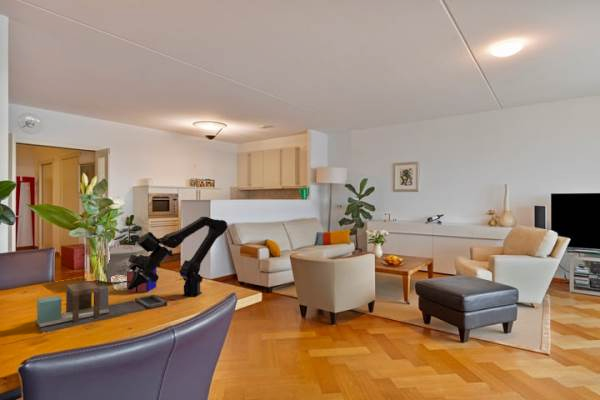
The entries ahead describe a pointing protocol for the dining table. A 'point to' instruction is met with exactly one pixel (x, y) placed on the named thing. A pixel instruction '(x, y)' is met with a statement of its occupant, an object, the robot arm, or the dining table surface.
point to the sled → (52, 312)
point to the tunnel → (82, 298)
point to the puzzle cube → (143, 287)
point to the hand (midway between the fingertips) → (128, 289)
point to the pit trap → (151, 302)
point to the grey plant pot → (120, 259)
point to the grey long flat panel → (113, 312)
